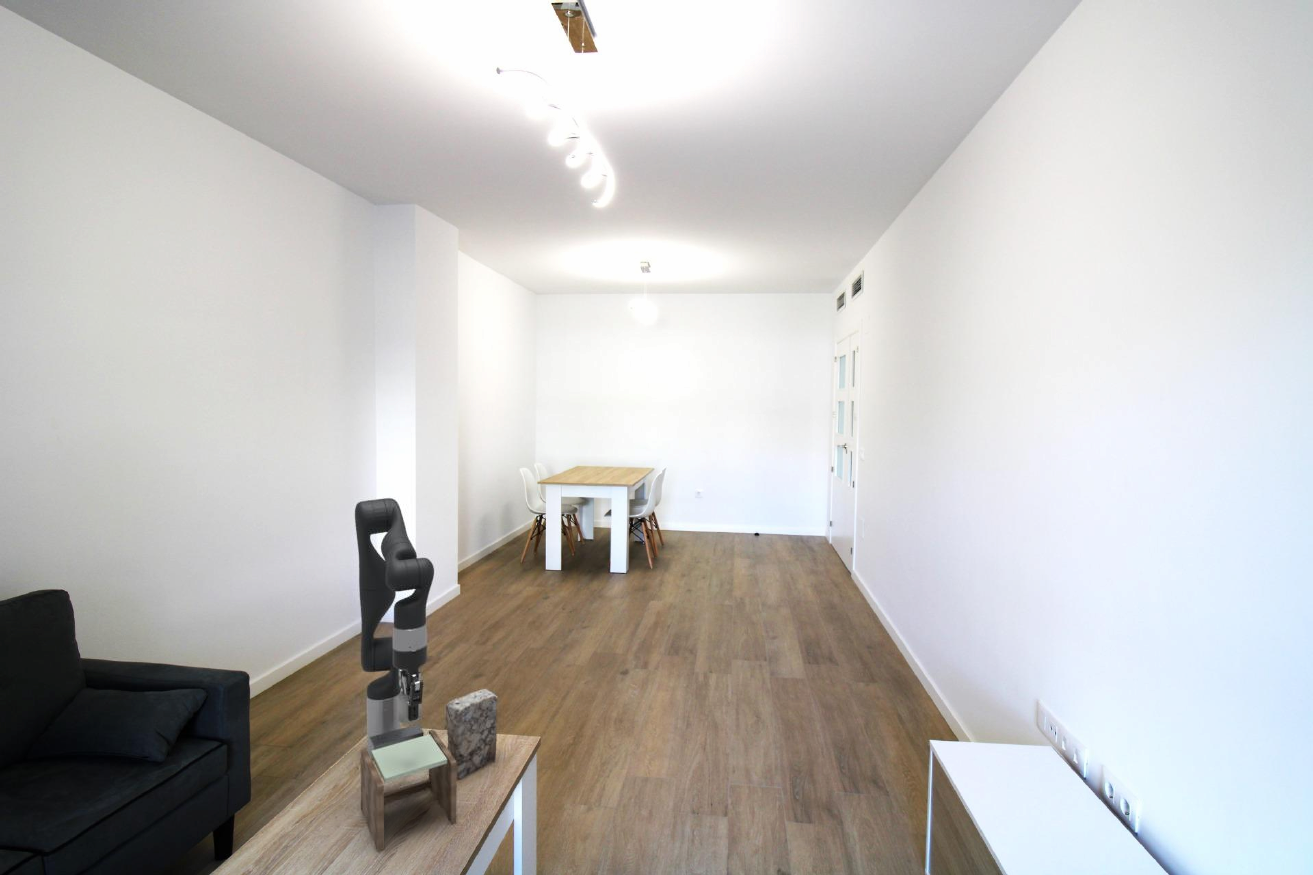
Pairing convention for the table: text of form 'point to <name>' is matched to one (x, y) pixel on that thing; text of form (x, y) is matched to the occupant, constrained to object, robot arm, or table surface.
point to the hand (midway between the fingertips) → (410, 714)
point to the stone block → (472, 731)
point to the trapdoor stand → (406, 791)
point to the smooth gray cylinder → (405, 709)
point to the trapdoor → (405, 752)
